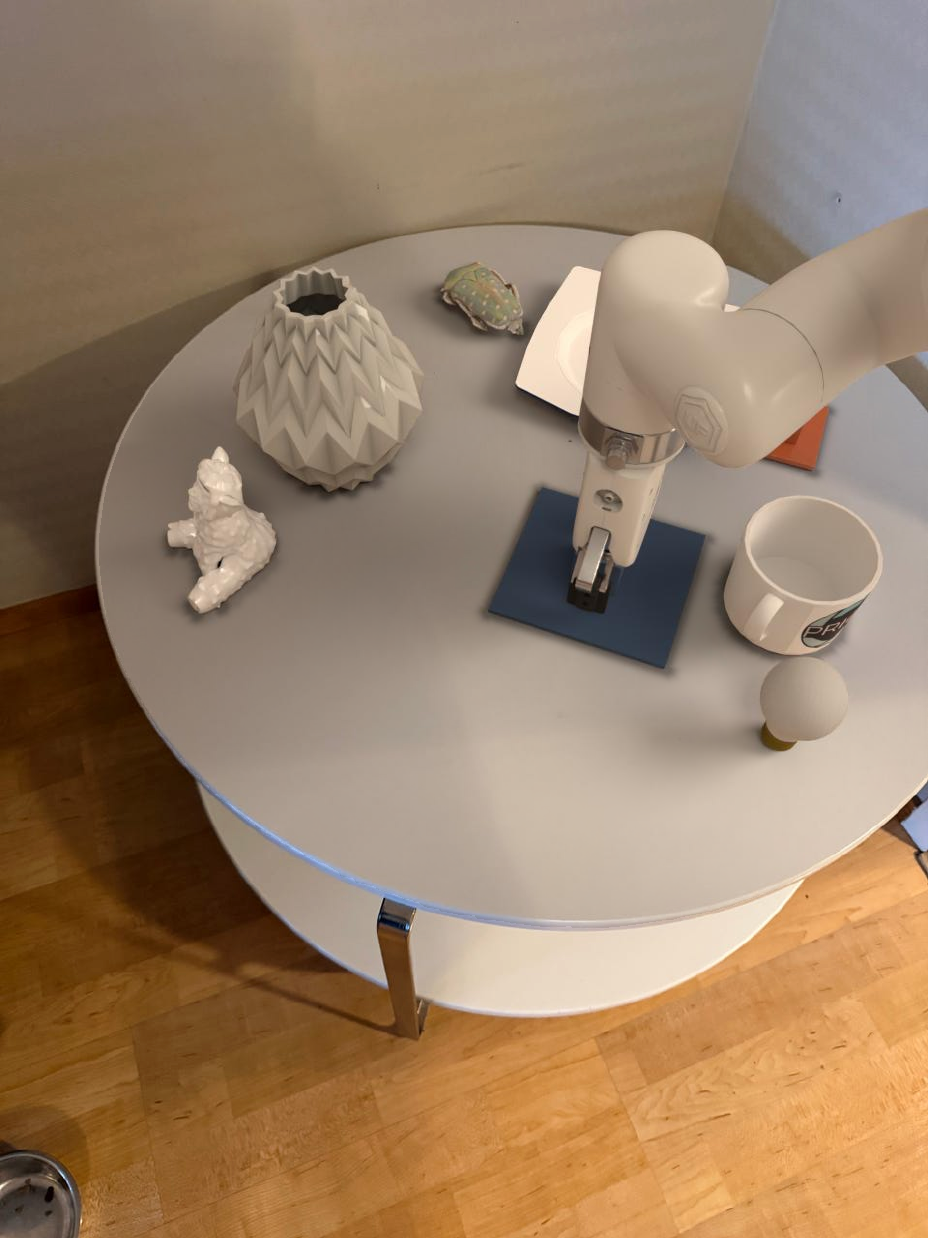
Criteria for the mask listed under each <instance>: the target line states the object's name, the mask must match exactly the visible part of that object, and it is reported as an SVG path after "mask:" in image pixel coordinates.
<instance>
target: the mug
mask: <svg viewBox="0 0 928 1238" xmlns="http://www.w3.org/2000/svg"><path fill="white" fill-rule="evenodd" d="M881 549H882V548H881V545H880V542H879V541H878V538H877V536H876V535H875V533H874V531H873V530H872V528H871V527H869V525H868V524H867V523H866V522H865V521H864V520H863V519H862V517H860V516H859V515H858V514H856V513H855V512H853V511H852V510H851V509H849V508H847V507H846V506H844V505H842V504H839V503H837V502H835V501H832V500H830V499H826V498H823V497H818V496H813V495H789V496H784V497H779V498H776V499H774V500H772V501H770V502H767V503H765V504H763V505H762V506H761V507H760V508H758V509H757V510H756V511H755V512H754V513H753V514H752V515H751V516H750V518H749V520H748V521H747V523H746V525H745V527H744V529H743V531H742V535H741V538H740V541H739V544H738V546H737V549H736V553H735V556H734V559H733V561H732V565H731V567H730V569H729V573H728V576H727V579H726V581H725V584H724V591H723V602H724V609H725V611H726V613H727V616H728V618H729V620H730V622H731V624H732V625H733V626H734V628H735V629H736V630H737V631H738V632H739V633H740V634H741V635H742V636H743V637H744V638H746V639H747V640H748V641H749V642H751V643H752V644H753V645H756V646H758V647H760V648H762V649H764V650H765V651H768V652H772V653H777V654H780V655H786V656H789V655H790V656H803V655H808V654H812V653H816V652H818V651H819V650H822V649H823V648H825V647H827V646H829V645H830V644H831V643H832V641H834V640H835V639H836V637H838V635H839V634H840V633H841V631H842V630H843V629H844V628H845V627H846V625H847V624H848V622H849V621H850V620H851V619H852V617H853V616H854V614H855V613H857V611H858V609H860V607H861V606H862V605H863V604H864V602H865V601H866V599H867V598H869V595H870V594H871V593H872V592H873V590H874V589H875V588H876V586H877V585H878V582H879V580H880V578H881V576H882V574H883V562H884V557H883V553H882V550H881Z"/></svg>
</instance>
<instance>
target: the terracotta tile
mask: <svg viewBox="0 0 928 1238" xmlns="http://www.w3.org/2000/svg"><path fill="white" fill-rule="evenodd" d="M829 409H830V407H829V406H827V405H826V406H825V407H823V408H822V409H821V410H820V411H819V412H818V413H816V414H815V415H814V416H813V417H812V418H811V419H810V420H809V421H808V422H807V423H805V425H804V427H803V429H802V431H801V434H800V436H799V438H798V440H797V443H796V444H792V443H788V442H783V443H781V444H780V445H779V446H778V447H777V448H775V449H774V450H773V451H772V452H771V453H769V454H768V455H767V456H765V457H764V458H765V459H768V460H772V461H775V462H778V463H782V464H786V465H790V466H793V467H797V468H800V469H805V470H808V471H814V470H815V466H816V462H817V458H818V454H819V452H820V451H819V450H820V446H821V443H822V437H823V434H824V430H825V425H826V423H827V422H826V421H827V418H828V414H829ZM764 458H763V459H764Z"/></svg>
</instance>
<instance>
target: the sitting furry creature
mask: <svg viewBox="0 0 928 1238" xmlns="http://www.w3.org/2000/svg"><path fill="white" fill-rule="evenodd" d="M197 465H198V466H197V468H198V469H197V471H196V479H195V482H194V483H193V485H192V487H190V488H188V490H187V493H188V501H187V506H188V509H189V510H190V511H191V512H193V517H189V518H188V519H185V520H182V519H179V520H178V521H174V522H169V523H168V524H167V527H168V529H169V530H168V531H167V542H168V545H169V547H170V548H186V549H189V550H190V549H192V554H193V556H194V557H195V559H196V561H197V563H198V567H199V569H200V571H201V573H202V576H200V577H199V578H198V580H197V583H196V584H195V585H194V587H193V588H192V590H190V592H189V594H188V596H187V600H188V602H189V604H190V605H191V607H192V608H193V610H194V611H196V612H198V615H201V614H206V613H208V612H210V611H212V610H214V609H216V608H218V609H220V608H221V604H222V602H226V601H227V599H228V598H229V597H231V596H232V595H234V593H236V591H238V590H240V589H242V587H243V586H244V584H245V583H246V582H249V581H251V580H252V578H253V576H254V575H255V574H256V573H259V572H260V571H261V570H263V569H265V566H266V565H267V564H269V563H270V561H271V557H272V554H273V553H274V551H275V548H276V545H277V538H276V531H275V530H274V529H273V524H272V523H271V522H270V521H268V520H267V518H266V515H265V514H264V513H263V512H258V511H256V510H253V509H251V508H250V507H248V506H247V505H246V504H245V503H244V498H243V483H242V482H243V481H242V475H241V473H240V472H239V471H238V470H237V468H236V467H235V466H234V465H233V464H231V463H230V458H229V455H228V453H227V452H226V450H225V449H224V448H223V447H222V446H217V447H216V448H215V450H214V452H213V454H212V456H211V458H203V459H201V461H200V462H199V463H198V464H197ZM219 562H221V563H220V566H219ZM218 566H219V567H218Z"/></svg>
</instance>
